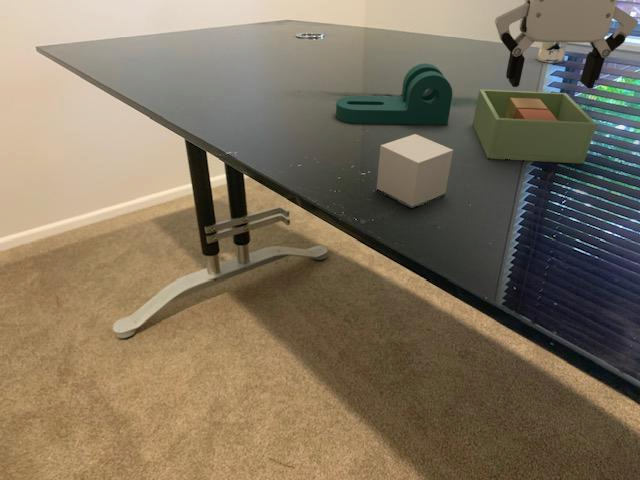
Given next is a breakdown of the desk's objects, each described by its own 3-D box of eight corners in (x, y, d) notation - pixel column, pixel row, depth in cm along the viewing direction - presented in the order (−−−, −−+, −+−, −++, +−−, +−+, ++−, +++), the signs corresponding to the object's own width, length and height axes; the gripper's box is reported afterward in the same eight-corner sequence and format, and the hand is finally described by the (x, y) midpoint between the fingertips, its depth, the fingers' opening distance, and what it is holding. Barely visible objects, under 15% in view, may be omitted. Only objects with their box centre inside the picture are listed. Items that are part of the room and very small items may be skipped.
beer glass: (566, 65, 113) (587, -9, 105) (533, 62, 115) (551, -11, 107) (565, 58, 119) (585, -13, 110) (534, 55, 121) (551, -15, 112)
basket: (555, 128, 81) (566, 93, 78) (583, 164, 70) (597, 124, 67) (472, 124, 82) (479, 89, 79) (487, 158, 71) (496, 119, 68)
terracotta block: (541, 139, 75) (549, 110, 73) (549, 151, 72) (558, 121, 69) (510, 137, 76) (517, 108, 73) (517, 149, 72) (525, 119, 69)
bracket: (438, 110, 87) (446, 63, 83) (447, 124, 82) (455, 75, 77) (335, 108, 87) (337, 62, 83) (336, 123, 81) (338, 73, 77)
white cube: (445, 195, 62) (453, 150, 59) (411, 210, 59) (418, 163, 56) (409, 177, 66) (415, 133, 63) (376, 189, 63) (380, 145, 59)
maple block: (532, 126, 79) (540, 98, 77) (540, 137, 76) (548, 108, 73) (503, 125, 80) (510, 97, 77) (509, 136, 76) (516, 107, 73)
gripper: (648, -64, 62) (605, 77, 71) (503, -63, 63) (480, 75, 73) (678, -59, 55) (626, 95, 65) (517, -58, 57) (490, 92, 67)
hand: (549, 84), depth 69 cm, fingers open, 9 cm apart
